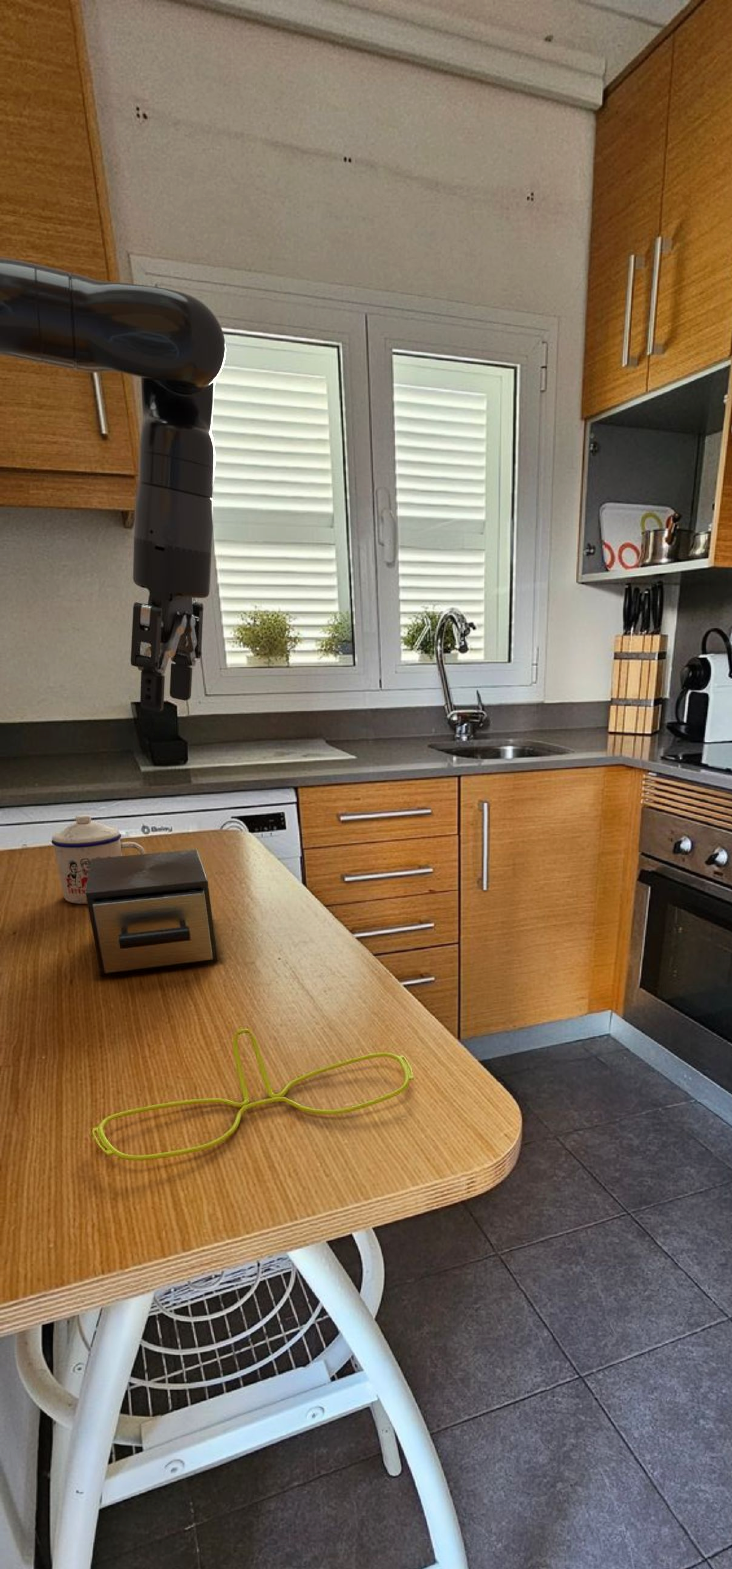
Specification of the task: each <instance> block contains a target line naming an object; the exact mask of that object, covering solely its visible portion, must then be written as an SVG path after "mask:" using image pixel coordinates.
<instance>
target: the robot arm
mask: <svg viewBox="0 0 732 1569" xmlns="http://www.w3.org/2000/svg"><path fill="white" fill-rule="evenodd" d="M226 352H227V348H226V338H225V334H224V332H223V329H222V326H221V324H220V322H219V319H217V317H216V315H215V314H214V313H213V311H212V310H211V309H210V308H209V307H208V306H207V305H206V304H205V303H204V302H202V301H201V300H199V299H198V298H196V297H194V296H192V295H190V294H188V293H185V292H181V291H178V290H174V289H169V288H165V287H158V286H152V285H146V284H145V285H144V284H136V283H126V282H118V281H104V280H99V279H94V278H91V277H88V276H85V275H83V274H78V273H76V272H70V271H67V270H64V269H60V268H55V267H52V266H51V267H50V266H46V265H42V264H38V263H34V262H28V261H24V260H18V259H13V258H9V257H8V258H7V257H1V256H0V356H4V357H9V358H14V359H19V360H23V361H28V362H33V363H37V364H44V365H47V366H48V365H49V366H52V367H57V368H58V367H59V368H61V369H62V368H63V369H68V370H76V371H77V372H85V373H92V374H93V373H96V374H102V373H108V372H114V373H115V372H116V373H120V374H125V375H130V376H133V377H137V378H140V386H141V387H140V390H141V411H142V412H141V413H142V421H141V429H140V436H139V446H138V447H139V448H138V477H137V478H138V480H137V481H138V483H137V492H136V497H135V498H136V499H135V504H134V521H133V522H134V524H133V525H134V526H133V527H134V528H133V556H132V557H133V560H132V561H133V563H132V580H133V583H134V584H135V585H136V586H137V587H140V588H143V589H147V590H148V594H149V595H148V599H147V603H141V602H137V601H135V602H134V604H133V605H132V606H133V607H132V623H131V624H132V625H131V643H130V644H131V646H130V648H131V649H130V664H131V667H137V669H138V671H140V698H139V702H140V703H139V705H140V708H141V709H143V710H145V711H150V712H155V713H159V712H161V711H163V710H164V706H165V704H164V703H165V685H166V684H165V681H166V676H165V673H166V669H167V666H168V663H169V660H170V661H171V662H172V663H170V676H169V677H170V678H169V696H170V697H171V698H172V699H174V700H180V701H185V702H186V701H189V700H190V699H191V698H192V683H193V667H195V665H196V663H197V659H198V660H201V657H202V653H203V652H202V650H203V649H202V648H203V625H204V623H203V622H204V620H203V619H204V604H203V603H202V602H198V601H193V599H206V598H208V596H209V595H210V588H211V587H210V586H211V574H212V561H213V560H212V558H213V557H212V556H213V541H214V526H215V525H214V523H215V522H214V507H213V506H214V505H213V504H214V503H213V502H214V499H213V497H214V482H215V467H216V451H215V450H216V449H215V441H214V437H213V434H212V426H213V412H214V397H215V386H216V379H217V378H218V376H219V375H220V373H221V372H222V369H223V368H224V364H225V360H226Z"/></svg>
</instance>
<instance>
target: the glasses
mask: <svg viewBox="0 0 732 1569" xmlns="http://www.w3.org/2000/svg"><path fill="white" fill-rule="evenodd" d="M243 1034H248V1035H249V1038H250V1040H251V1044H252V1047H253V1052H254V1054H255V1058H256V1061H257V1065H258V1068H259V1071H260V1075H261V1078H262V1081H263V1083H264V1086H265V1091H266V1093H267V1095H268V1097H270V1098H264V1099H261V1100H257V1101H254V1102H251V1103H250V1097H249V1092H248V1088H247V1084H246V1081H245V1076H244V1071H243V1066H242V1062H241V1057H240V1052H239V1045H238V1038H239V1036H240V1035H243ZM232 1052H233V1057H234V1063H235V1067H236V1072H237V1076H238V1077H237V1078H238V1081H239V1085H240V1089H241V1094H242V1097H243V1101H242V1102H237V1101H233V1100H230V1099H226V1098H220V1097H219V1098H218V1097H216V1098H215V1097H213V1098H195V1099H187V1100H179V1101H172V1102H171V1101H170V1102H166V1103H160V1104H153V1105H152V1104H151V1105H146V1106H142V1107H137V1108H133V1109H129V1110H124V1111H121V1112H117V1113H114V1114H111V1115H109V1116H106V1117H105V1118H104V1119H103V1120H102V1121H100V1124H99V1125H98V1126H97V1127H93V1128H92V1131H91V1132H92V1136H93V1138H94V1141H95V1143H96V1144H97V1146H98V1147H99V1149H100V1150H101V1151H102V1152H103V1153H104V1154H105V1155H107V1156H111V1155H114V1156H115V1157H117V1158H119V1159H122V1160H126V1161H133V1162H135V1161H136V1162H137V1161H138V1162H139V1161H150V1160H159V1159H164V1158H171V1157H177V1156H183V1155H188V1154H192V1153H196V1152H200V1151H201V1152H202V1151H205V1150H207V1149H210V1148H212V1147H215V1146H216V1145H219V1144H221V1143H222V1142H224V1141H225V1140H227V1139H228V1138H230V1137H231V1136H232V1134H234V1132H236V1130H237V1128H238V1126H239V1125H240V1122H241V1119H242V1116H243V1114H244V1112H245V1111H247V1110H249V1109H252V1108H255V1107H259V1106H262V1105H267V1104H271V1103H277V1102H285V1103H287V1104H288V1105H290V1106H292V1107H294V1108H296V1109H298V1110H300V1111H303V1112H306V1113H308V1114H315V1115H330V1116H331V1115H340V1114H341V1115H342V1114H347V1113H351V1112H354V1111H358V1110H362V1109H365V1108H368V1107H370V1106H374V1105H377V1104H379V1103H381V1102H384V1101H387V1100H389V1099H392V1098H394V1097H396V1096H398V1095H400V1094H401V1093H403V1092H404V1091H405V1090H406V1089H407V1088H408V1086H409V1085H410V1081H412V1080H414V1078H415V1076H414V1071H413V1068H412V1066H411V1064H410V1062H409V1061H408V1059H407V1058H406V1057H405V1056H404V1055H403V1054H402V1055H397V1054H394V1053H391V1052H377V1053H376V1052H375V1053H371V1054H366V1055H361V1056H358V1057H354V1058H349V1059H346V1060H343V1061H340V1062H337V1063H334V1064H330V1065H328V1066H324V1067H322V1068H320V1069H316V1070H313V1071H311V1072H308V1073H306V1074H304V1075H301V1076H299V1077H297V1078H295V1079H293V1080H292V1081H290V1082H289V1083H287V1084H286V1085H285V1087H283V1089H282V1090H281V1092H279V1093H274V1092H273V1090H272V1086H271V1083H270V1080H269V1077H268V1075H267V1072H266V1068H265V1065H264V1061H263V1059H262V1055H261V1051H260V1049H259V1044H258V1042H257V1040H256V1038H255V1036H254V1034H253V1032H252V1031H250V1029H248V1028H241V1029H238V1030H237V1031H236V1032H235V1033H234V1036H233V1038H232ZM375 1058H391V1059H393V1060H396V1062H398V1063H399V1065H400V1067H401V1069H402V1071H403V1073H404V1083H403V1084H402V1086H401V1087H399V1088H397V1089H395V1090H393V1091H392V1092H390V1093H388V1094H384V1095H383V1096H380V1097H377V1098H375V1099H372V1100H369V1101H366V1102H363V1103H360V1104H356V1105H353V1106H349V1107H345V1108H337V1109H318V1108H312V1107H307V1106H304V1105H303V1104H300V1103H299V1102H296V1101H294V1100H292V1099H290V1098H287V1097H286V1096H285V1095H287V1092H288V1091H289V1090H290V1089H291V1088H292V1087H293V1086H294V1085H297V1084H298V1083H301V1082H303V1081H305V1080H307V1079H310V1078H312V1077H314V1076H317V1075H319V1074H323V1073H325V1072H328V1071H331V1070H334V1069H337V1068H341V1067H345V1066H347V1065H350V1064H355V1063H358V1062H363V1061H367V1060H370V1059H375ZM410 1073H411V1074H410ZM198 1104H200V1105H201V1104H225V1105H229V1106H232V1107H234V1108H240V1109H239V1110H238V1111H237V1113H236V1116H235V1120H234V1123H233V1125H232V1126H231V1127H230V1129H228V1131H226V1132H225V1133H224V1134H222V1135H221V1136H219V1137H218V1138H216V1139H214V1140H212V1141H210V1142H207V1143H204V1144H201V1145H197V1146H194V1147H189V1148H183V1149H178V1150H173V1151H168V1152H167V1151H166V1152H159V1153H153V1154H144V1155H143V1154H142V1155H141V1154H140V1155H138V1154H137V1155H136V1154H135V1155H133V1154H126V1153H123V1152H121V1151H119V1150H118V1149H116V1148H115V1147H114V1146H113V1145H112V1144H111V1143H110V1141H109V1140H108V1138H107V1136H106V1134H105V1132H104V1127H105V1126H106V1125H107V1124H108V1123H110V1122H111V1121H114V1120H116V1119H120V1118H123V1117H126V1116H131V1115H135V1114H140V1113H145V1112H149V1111H154V1110H161V1109H168V1108H173V1107H174V1108H175V1107H181V1106H188V1105H198ZM96 1133H97V1135H96ZM98 1138H99V1139H98ZM102 1145H103V1146H104V1147H103V1146H102Z"/></svg>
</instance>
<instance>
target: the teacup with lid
mask: <svg viewBox="0 0 732 1569" xmlns="http://www.w3.org/2000/svg"><path fill="white" fill-rule="evenodd" d="M74 820H75V822H74V823H71V824H69V825H67V827H66V828H65V829H63V830H60V831H58V832H55V833H54V834H53V835H52V837H51V844H52V845H53V847H54V852H55V857H56V862H57V867H58V872H59V877H60V883H61V889H62V894H63V898H64V900H65V901H66V902H69V903H72V904H76V905H88V904H87V898H86V888H87V881H88V874H89V867H90V860H91V859H95V858H106V857H117V856H124V855H123V850H122V849H128V848H132V849H135V850H137V851H138V852H139V853H140V854H147V853H146V850H145V848H144V847H143V846H142V845H141V844H139V843H137V842H134V841H125V842H121V838H122V834H121V832H120V831H119V830H118V829H117V828H116V827H112V826H107V825H105V824H102V823H100V822H98V821H93V820H92V817H91V815H90V814H79V815H76V816H75V818H74Z"/></svg>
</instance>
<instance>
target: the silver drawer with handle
mask: <svg viewBox="0 0 732 1569" xmlns="http://www.w3.org/2000/svg"><path fill="white" fill-rule="evenodd" d="M93 910H94V916H95V921H96V927H97V932H98V938H99V943H100V949H101V954H102V960H103V965H104V971H105V973H111V972H119V971H127V970H134V969H142V968H150V967H157V966H165V965H173V964H180V963H188V962H196V961H203V960H211V959H213V956H212V948H211V940H210V933H209V925H208V917H207V909H206V901H205V894H204V891H196V889H188V890H178V891H169V892H159V893H149V894H140V895H130V896H121V897H111V898H101V901H99V902H93Z"/></svg>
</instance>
